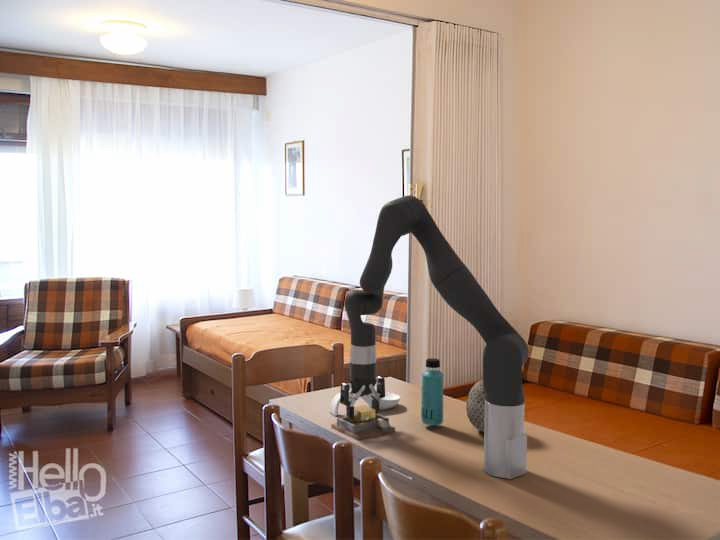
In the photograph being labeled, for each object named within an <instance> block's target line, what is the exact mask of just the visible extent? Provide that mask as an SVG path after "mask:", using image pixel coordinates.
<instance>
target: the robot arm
mask: <svg viewBox="0 0 720 540" xmlns="http://www.w3.org/2000/svg"><path fill="white" fill-rule="evenodd" d="M380 209H381V210H380V212H379V215H378V218H377V222H376V227H375V232H374V236H373V240H372V245H371V250H370V253H369V256H368V259H367V261H366V264H365V266H364V269H363V270H362V271H363V272H362V273H361V275H360V278H359V287H360V288H361V290H359V289H357V290H350V291H349V292H348V293H347V294H346V295H345V297H344V298H345V299H344V309H345V312H346V315H347V319H348V324H349V328H350V350H349V376H350V382H348V383H345V382H342V383H340V392H341V393H340V392H339V393H340V403H339V404H341V405H344V406H346V410H345V412H346V411H347V412H346V415H347V417H348V418H349V419H351V420H352V419H354V407H355V406H354V405H355V403H356V402H357V401H358V400H359V398H360V397H362V396H364V395H370V396H371V397H372V399H373V400H372V408H373V409H375V414H379V411H380V410H379V401H380V399H381V398H384V397H385V392H386V383H385V382H386V381H385V378H384V377H381V376H379V375H377V347H376V345H377V344H376V343H377V341H376V339H377V338H376V337H377V336H376V335H377V334H376V331H377V330H376V326H375V325H374V324H373V323H370V322H364V321H363V320H362V317H361V316H368V315H369V316H370V315H375V314H378V312H380V311H381V309H382V307H383V304H384V303H383V301H384V294H385V293H384V291H385V286H386V284H387V282H388V280H389V278H390V276H391V273H392V270H393V257H392V255H393V254H392V253H393V250H394V248H395V246H396V244H397V243H398V241H399V240H400V239H401V237H403V236H406V235H409V234H412V235H413V236H414V237H415V239H416V240H417V242H418V243H419V244H420V245H421V247H422V249H423V252H424V254H425V258H426V263H427V270H428V271H427V272H428V275H429V279H430V282H431V283H432V286H433V287H434V288H435V290H436V291H437V292H438V294H440V295H439V296H440V297H442V299H443V300H444V301H445V303H446V304H447V305H448V306H449V307H450V308H451V309H452V310H453V311H454V312H456V313H457V314H458V315H459V316H461V317H462V318H463V319H465V321H467V322H468V323H470V325H471V326H473V327H474V329H475V330H476V332H478V333H479V335H480V336H481V339H483V341H484V343H485V346H484V349H483V353H482V380H483V388H484V392H485V424H484V432H483V433H484V434H483V435H484V436H483V471H484V472H485V473H486V474H488V475H489V476H493V477H497V478H502V479H507V480H513V479H515V478H517V477H521V476H523V475H526V474H527V460H528V459H527V454H528V451H527V450H528V436H527V434H525V433H524V432H525V404H526V403H525V399H526V397H525V394H526V393H525V390H524V388H523V366H524V365H525V364H526V362H527V361H528V359H529V347H528V344H527V342H526V340H525V339H524V338H523V337H522V336H521V334H520V333H519V332H518V331H517V330H516V328H514V327H513V326H512V324H511V323H510V322H509V321H508V320H507V319H506V318H505V317H504V316H503V314H501V312H500V311H499V310H498V309H497V307H496V305H495V304H494V303H493V301H492V300H491V298H490V297H489V296H488V294H487V293H486V291H485V290H484V288H483V287H482V286H481V285H480V283H479V282H478V281H477V279H476V277H475V276H474V274H473V273H472V272H471V270H470V269H469V267H467V266H466V264H465V263H464V262H463V261H462V259H461V258H460V257H459V256H458V254H457V252H456V251H455V250H454V249H453V247H452V246H451V245H450V242H449V241H448V240H447V239H446V237H445V236H444V235H443V233H442V232H441V230H440V228H439V227H438V225H437V223H436V221H435V220H434V218H433V217H432V215H431V214H430V212H429V209H428V208H427V207H426V206H425V204H424V203H423V202H422V201H421V200H420V199H419V198H418V197H416V196H414V195H411V194H409V195H404V196H401V197H398V198H395V199H392V200H391V201H387V202H386V203H385V204H384V205H382V207H381V208H380ZM375 386H376V388H375ZM350 389H351V391H350ZM349 391H350V393H349ZM354 393H355V394H356V395H355V394H354Z"/></svg>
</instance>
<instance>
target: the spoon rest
mask: <svg viewBox="0 0 720 540" xmlns="http://www.w3.org/2000/svg"><path fill="white" fill-rule="evenodd" d="M350 391H351V388H350ZM350 391H349V393H350ZM340 393H341V391H340V392H338V393H337V394H336V395H335V396H334V397H333V399H332V400H331V402H330V404H329V409H328V412H329V414H331V415H333V416H334V417H337V416H338V414H339V406H340V404H341V403H340ZM354 395H356V394H355V393H354ZM359 398H361V400H363V402H365V403H366V404H367V406H368V407H371V408H372V400H373V399H372V397H371V396H370V395H364V396H362V397H359ZM400 400H401V396H400V395H398V394H396V393H392V392H389V391H387V392H386V391H385V397H384V398H381V399H380V401H379V411H384V410H385V411H386V410H389V409H392V408H393V407H395V406H396V405H398V404H399V402H400Z"/></svg>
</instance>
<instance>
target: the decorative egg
mask: <svg viewBox="0 0 720 540" xmlns="http://www.w3.org/2000/svg"><path fill="white" fill-rule="evenodd" d="M465 409H466V415H467V418H468V420H469V422H470V423H471V425H472V426H473V427H474V428H475V429H477V430H478V431H480V432H483V433H484V424H485V392H484V388H483V379H481V380H479V381H477V382H476V383H475V384H474V385H473V386H472V388H471V389H470V391H469V393H468V396H467V399H466V406H465Z"/></svg>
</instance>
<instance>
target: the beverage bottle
mask: <svg viewBox="0 0 720 540" xmlns="http://www.w3.org/2000/svg"><path fill="white" fill-rule="evenodd" d="M440 361H441V360H440V359H439V358H433V357H432V358H431V357H430V358H426V360H425V368H429V369H425V370H424V371H423V372H422V374H421V377H422V379H421V401H420V402H421V407H420V408H421V410H420V411H421V412H420V414H421V416H420V417H421V422H422V424H424V425H428V426H439V425H442V424H443V423H444V375H445V374H444V373H443V372H442V371H440V369H437V368H440V367H441V362H440Z"/></svg>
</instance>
